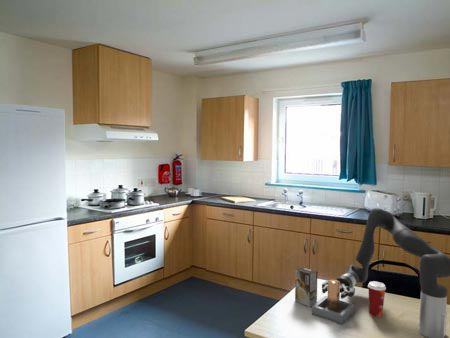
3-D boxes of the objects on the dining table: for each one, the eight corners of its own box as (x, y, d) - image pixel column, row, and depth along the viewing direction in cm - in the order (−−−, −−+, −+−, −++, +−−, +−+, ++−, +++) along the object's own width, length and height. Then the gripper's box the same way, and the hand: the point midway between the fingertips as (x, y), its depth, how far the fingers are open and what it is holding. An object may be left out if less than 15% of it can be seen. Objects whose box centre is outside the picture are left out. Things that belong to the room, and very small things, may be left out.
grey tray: (353, 312, 164) (353, 304, 164) (342, 324, 153) (342, 315, 153) (324, 304, 173) (324, 296, 172) (311, 314, 162) (312, 306, 161)
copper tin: (340, 311, 163) (341, 281, 162) (336, 315, 159) (337, 285, 158) (329, 307, 166) (330, 278, 165) (325, 311, 162) (326, 282, 161)
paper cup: (386, 318, 159) (388, 288, 158) (368, 316, 160) (369, 286, 159) (382, 310, 167) (383, 281, 165) (365, 308, 168) (366, 280, 167)
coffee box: (317, 303, 173) (318, 271, 172) (309, 307, 169) (310, 274, 168) (302, 297, 180) (302, 266, 179) (294, 300, 176) (295, 269, 175)
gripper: (331, 272, 178) (317, 281, 165) (360, 279, 169) (348, 290, 156) (331, 286, 178) (317, 297, 166) (359, 294, 169) (347, 306, 157)
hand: (332, 293), depth 161 cm, fingers open, 8 cm apart
